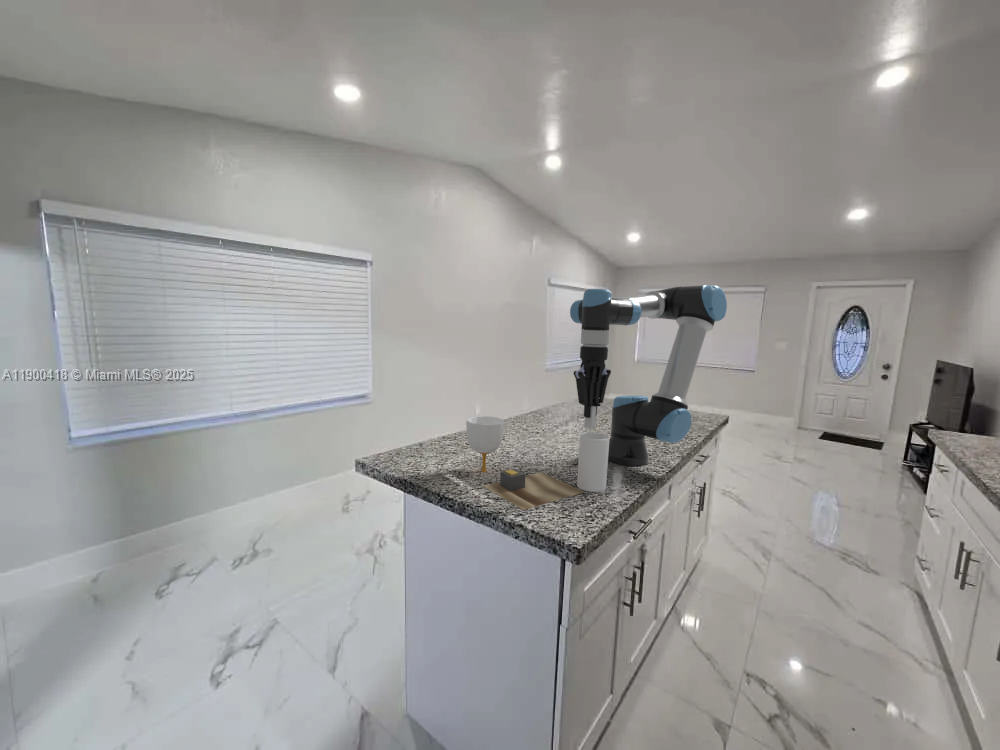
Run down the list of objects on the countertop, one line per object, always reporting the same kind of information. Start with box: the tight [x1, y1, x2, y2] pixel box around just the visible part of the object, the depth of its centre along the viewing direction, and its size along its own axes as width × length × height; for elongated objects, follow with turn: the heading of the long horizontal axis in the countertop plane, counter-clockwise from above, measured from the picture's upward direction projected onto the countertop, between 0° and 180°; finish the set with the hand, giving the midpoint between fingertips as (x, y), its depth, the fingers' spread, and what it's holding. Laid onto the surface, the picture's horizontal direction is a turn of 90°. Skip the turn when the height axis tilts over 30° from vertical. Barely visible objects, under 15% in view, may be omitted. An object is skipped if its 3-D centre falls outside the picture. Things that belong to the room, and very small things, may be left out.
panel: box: [483, 471, 585, 511], centre depth 118 cm, size 22×18×1 cm
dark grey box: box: [499, 468, 527, 491], centre depth 119 cm, size 5×5×4 cm
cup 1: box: [465, 415, 505, 473], centre depth 130 cm, size 12×12×17 cm
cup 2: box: [576, 431, 610, 493], centre depth 121 cm, size 8×8×16 cm
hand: (589, 428), depth 121 cm, fingers closed
